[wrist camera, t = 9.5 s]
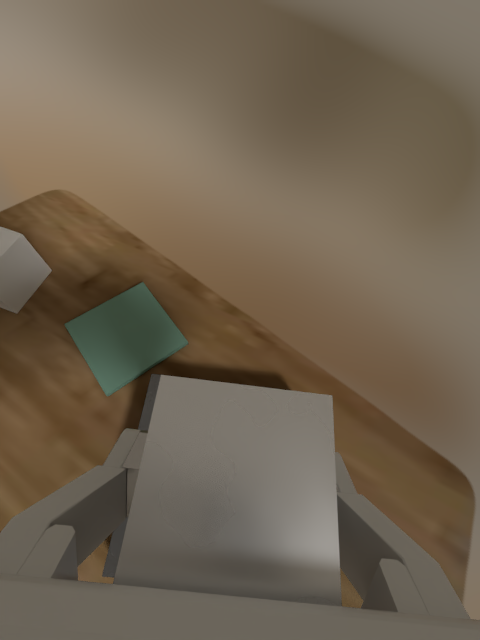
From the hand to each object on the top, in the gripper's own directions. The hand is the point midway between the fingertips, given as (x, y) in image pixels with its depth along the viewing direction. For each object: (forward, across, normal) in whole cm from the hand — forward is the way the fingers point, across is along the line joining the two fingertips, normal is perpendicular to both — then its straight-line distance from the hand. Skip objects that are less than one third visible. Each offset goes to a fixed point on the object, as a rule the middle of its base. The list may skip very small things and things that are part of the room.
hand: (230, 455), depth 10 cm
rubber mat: (+20, +11, +5) cm, 24 cm away
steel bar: (+4, 0, +5) cm, 6 cm away
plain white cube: (+24, +25, +2) cm, 35 cm away
